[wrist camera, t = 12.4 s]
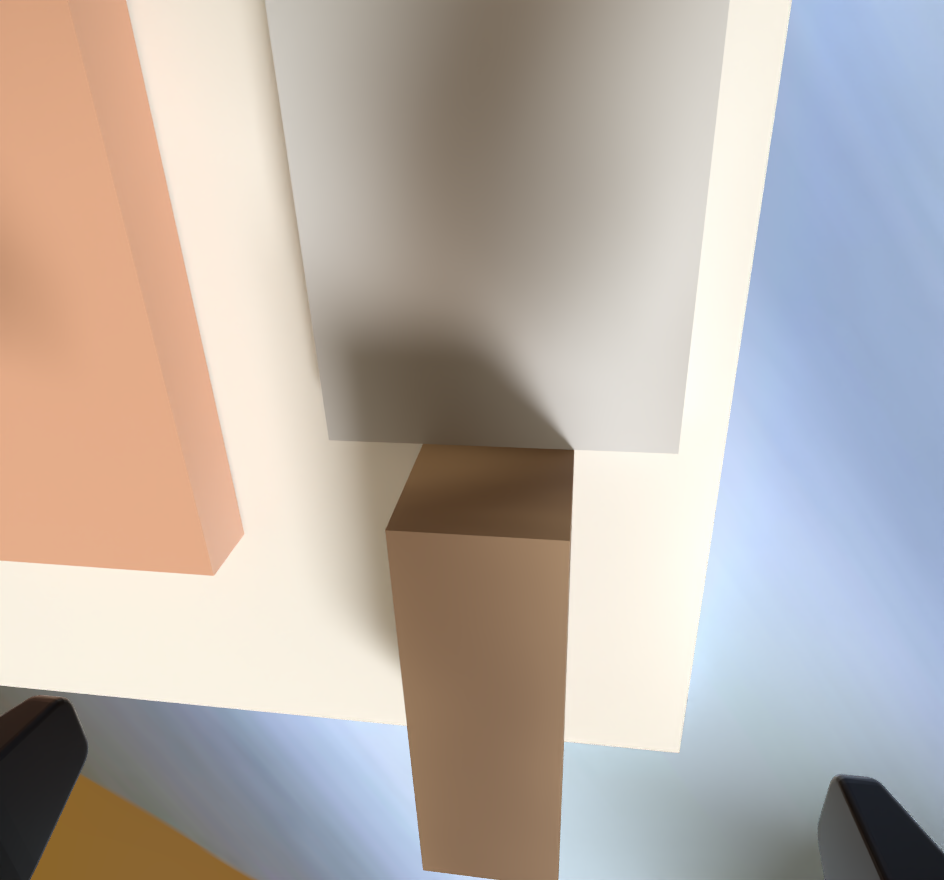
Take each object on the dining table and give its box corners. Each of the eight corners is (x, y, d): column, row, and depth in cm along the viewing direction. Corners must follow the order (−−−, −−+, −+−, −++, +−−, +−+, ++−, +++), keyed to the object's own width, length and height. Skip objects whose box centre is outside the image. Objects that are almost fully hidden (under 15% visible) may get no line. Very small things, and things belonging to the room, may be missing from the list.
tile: (245, 532, 15) (123, -26, 11) (214, 575, 14) (58, -36, 9) (-6, 516, 16) (-221, -5, 11) (-58, 556, 15) (-324, -12, 10)
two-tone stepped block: (723, -49, 9) (789, -103, 6) (639, 738, 16) (650, 899, 13) (288, -24, 10) (153, -59, 7) (385, 713, 17) (338, 859, 14)
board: (799, -190, 10) (825, -221, 8) (673, 711, 17) (679, 753, 16) (-368, -92, 12) (-457, -106, 11) (-18, 647, 20) (-51, 680, 19)
